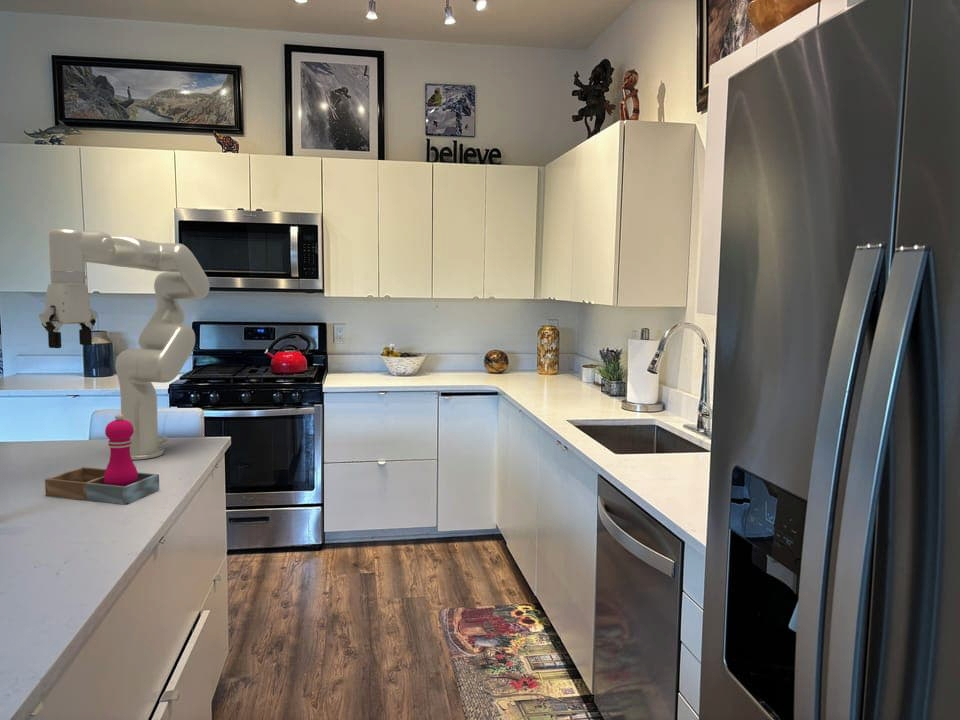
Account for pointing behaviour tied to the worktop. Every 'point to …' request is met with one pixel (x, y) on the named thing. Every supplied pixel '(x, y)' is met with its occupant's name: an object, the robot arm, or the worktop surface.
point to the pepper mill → (120, 453)
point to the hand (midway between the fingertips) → (70, 346)
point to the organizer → (99, 486)
